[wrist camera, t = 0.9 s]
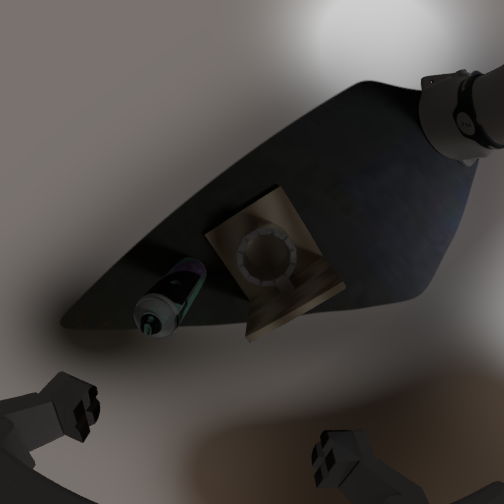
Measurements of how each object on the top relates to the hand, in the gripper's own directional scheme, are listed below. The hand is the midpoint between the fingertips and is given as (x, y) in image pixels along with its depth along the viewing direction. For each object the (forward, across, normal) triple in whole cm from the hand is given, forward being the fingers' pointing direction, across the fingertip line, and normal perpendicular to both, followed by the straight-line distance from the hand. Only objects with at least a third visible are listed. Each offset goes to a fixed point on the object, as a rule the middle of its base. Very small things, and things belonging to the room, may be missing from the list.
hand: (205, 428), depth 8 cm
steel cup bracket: (+37, -4, +1) cm, 37 cm away
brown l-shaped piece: (+38, -4, 0) cm, 38 cm away
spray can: (+39, +8, +7) cm, 40 cm away
